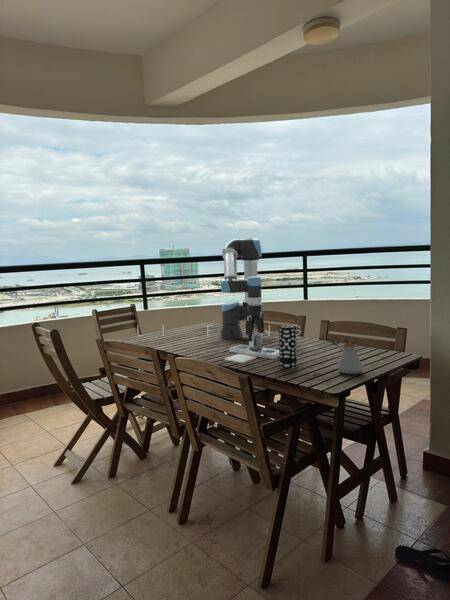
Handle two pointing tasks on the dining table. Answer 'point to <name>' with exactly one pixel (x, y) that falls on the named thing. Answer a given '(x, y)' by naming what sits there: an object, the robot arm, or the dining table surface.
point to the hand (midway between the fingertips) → (255, 345)
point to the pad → (240, 358)
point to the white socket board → (261, 353)
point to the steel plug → (256, 343)
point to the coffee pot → (348, 359)
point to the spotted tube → (287, 346)
